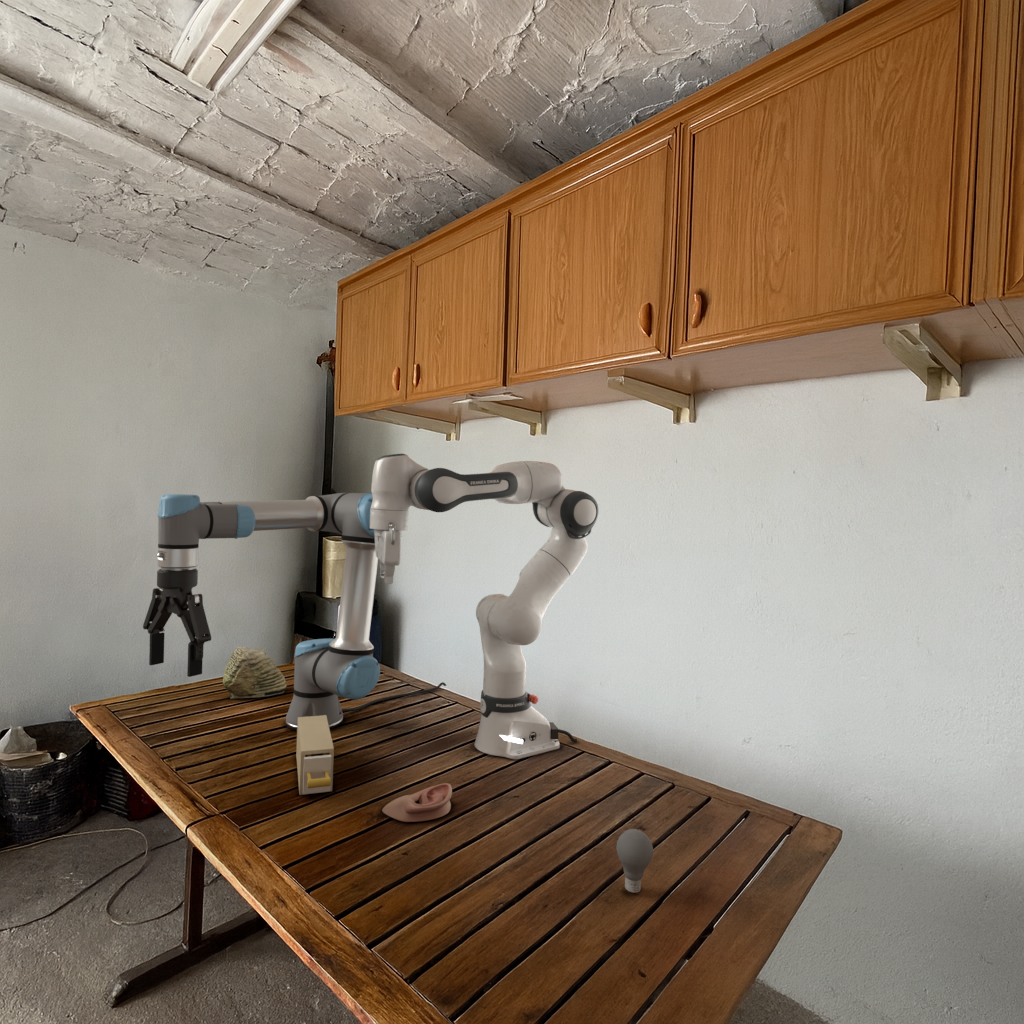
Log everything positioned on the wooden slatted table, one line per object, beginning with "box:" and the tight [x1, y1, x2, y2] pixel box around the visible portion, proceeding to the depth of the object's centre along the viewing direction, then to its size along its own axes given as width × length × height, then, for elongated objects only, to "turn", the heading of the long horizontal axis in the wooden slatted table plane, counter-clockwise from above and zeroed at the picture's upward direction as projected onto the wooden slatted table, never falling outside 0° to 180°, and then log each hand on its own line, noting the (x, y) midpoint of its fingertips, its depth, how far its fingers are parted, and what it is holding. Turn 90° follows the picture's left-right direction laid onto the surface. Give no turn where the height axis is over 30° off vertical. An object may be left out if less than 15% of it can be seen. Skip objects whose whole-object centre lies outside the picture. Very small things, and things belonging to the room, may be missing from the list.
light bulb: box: [615, 828, 654, 894], centre depth 106 cm, size 6×6×10 cm
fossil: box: [222, 646, 288, 699], centre depth 198 cm, size 9×18×15 cm, turn 132°
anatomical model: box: [382, 782, 453, 823], centre depth 130 cm, size 13×4×12 cm
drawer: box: [303, 753, 332, 795], centre depth 140 cm, size 26×6×8 cm, turn 21°
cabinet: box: [295, 715, 335, 796], centre depth 145 cm, size 22×7×9 cm, turn 21°
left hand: (175, 669), depth 132 cm, fingers open, 13 cm apart
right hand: (386, 580), depth 149 cm, fingers open, 8 cm apart
